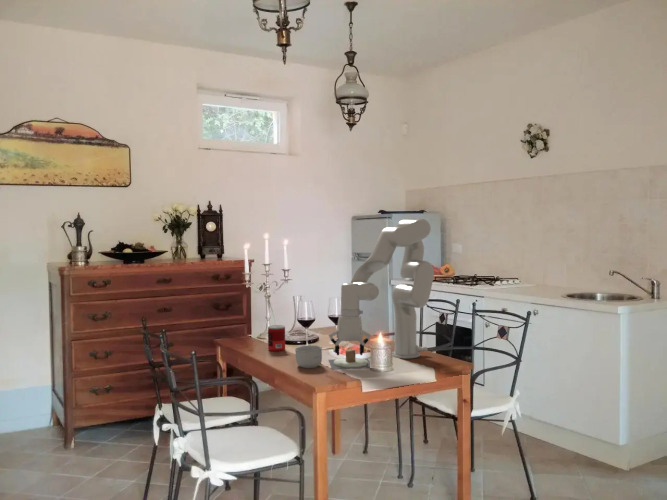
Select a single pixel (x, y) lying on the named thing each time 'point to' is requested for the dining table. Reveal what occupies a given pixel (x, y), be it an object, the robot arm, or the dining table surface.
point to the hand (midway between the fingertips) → (349, 354)
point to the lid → (350, 361)
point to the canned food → (276, 338)
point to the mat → (348, 368)
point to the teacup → (308, 356)
